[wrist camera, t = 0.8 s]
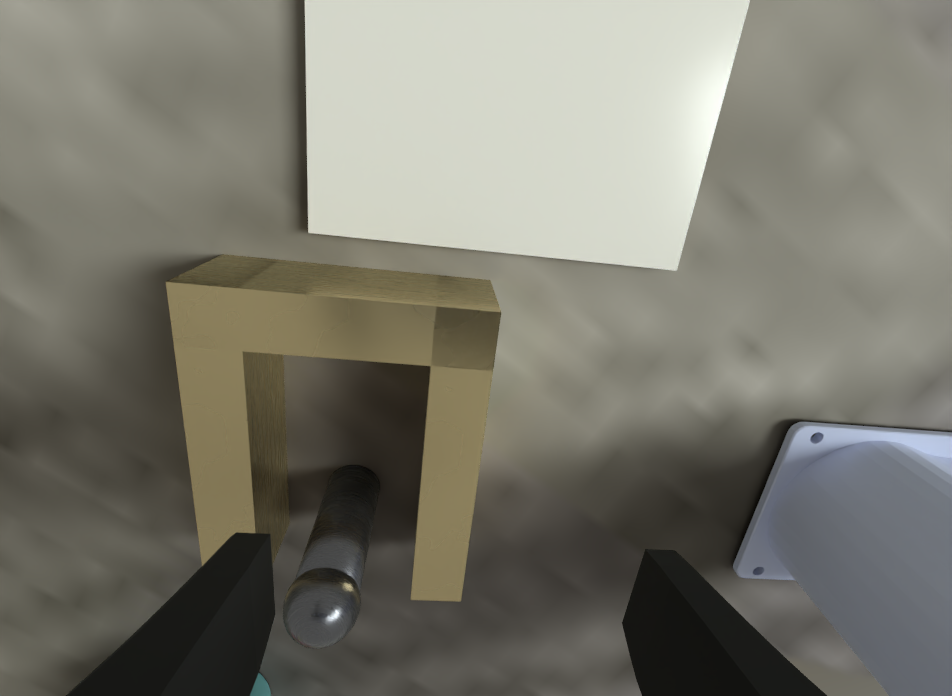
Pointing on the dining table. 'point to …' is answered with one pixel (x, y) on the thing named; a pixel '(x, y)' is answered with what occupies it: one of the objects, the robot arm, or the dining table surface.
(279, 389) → the c link
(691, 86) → the coaster
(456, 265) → the dining table surface
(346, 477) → the post
